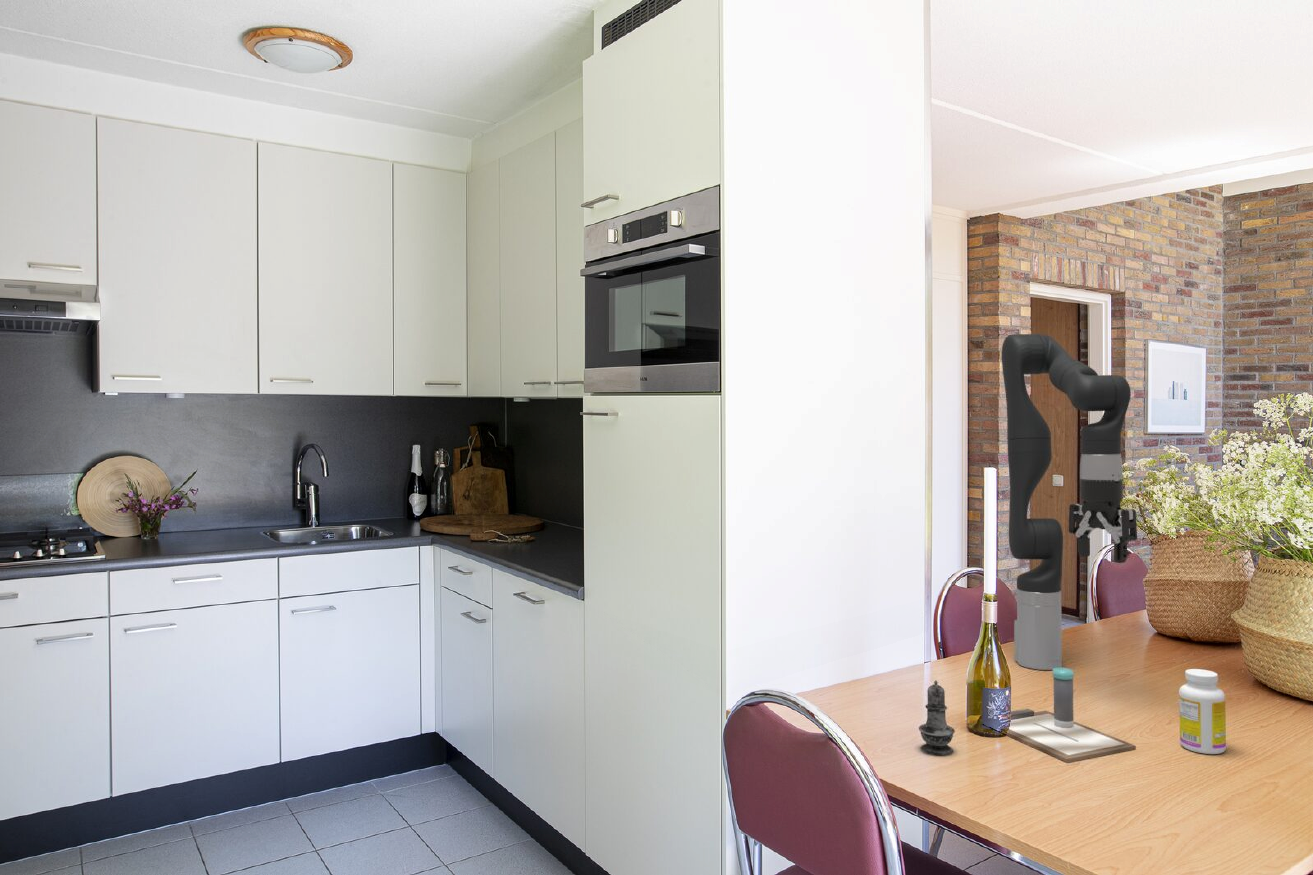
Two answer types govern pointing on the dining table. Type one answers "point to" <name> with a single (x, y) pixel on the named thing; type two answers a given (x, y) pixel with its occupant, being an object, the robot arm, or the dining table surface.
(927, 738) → the salt shaker
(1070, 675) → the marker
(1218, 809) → the dining table surface
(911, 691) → the dining table surface
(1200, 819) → the dining table surface
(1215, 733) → the supplement bottle
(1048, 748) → the clipboard
